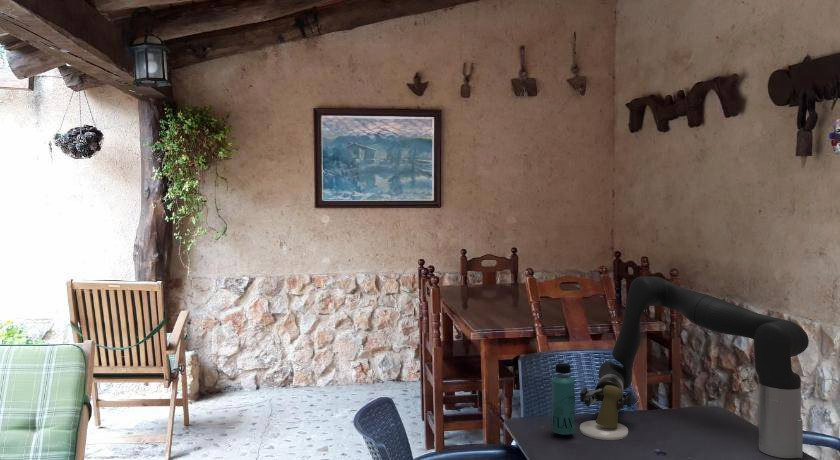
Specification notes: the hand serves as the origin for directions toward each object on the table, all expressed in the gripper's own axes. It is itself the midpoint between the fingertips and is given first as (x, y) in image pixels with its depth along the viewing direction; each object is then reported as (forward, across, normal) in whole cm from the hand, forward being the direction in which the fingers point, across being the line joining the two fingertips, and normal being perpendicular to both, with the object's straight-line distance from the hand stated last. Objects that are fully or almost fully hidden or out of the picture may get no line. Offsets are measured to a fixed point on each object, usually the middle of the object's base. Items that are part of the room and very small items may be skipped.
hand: (603, 404), depth 171 cm
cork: (-1, +1, +6) cm, 6 cm away
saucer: (0, 0, +8) cm, 8 cm away
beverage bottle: (+7, -10, +8) cm, 14 cm away
